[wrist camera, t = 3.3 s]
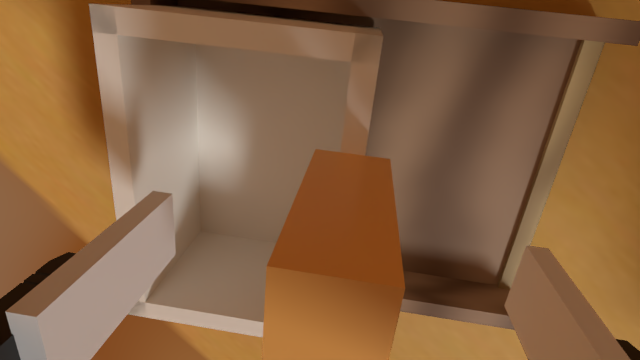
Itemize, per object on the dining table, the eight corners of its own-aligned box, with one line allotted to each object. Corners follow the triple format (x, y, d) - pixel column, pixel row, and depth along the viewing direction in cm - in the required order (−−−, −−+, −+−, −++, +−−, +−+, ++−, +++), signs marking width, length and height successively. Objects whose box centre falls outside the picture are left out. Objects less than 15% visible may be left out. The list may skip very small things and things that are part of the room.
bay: (599, 20, 21) (646, 22, 17) (503, 289, 28) (522, 331, 25) (167, -25, 23) (128, -32, 19) (181, 239, 30) (155, 271, 26)
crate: (398, 29, 21) (455, 69, 7) (359, 261, 27) (344, 551, 13) (182, 6, 22) (-192, -5, 7) (192, 235, 28) (-5, 478, 13)
